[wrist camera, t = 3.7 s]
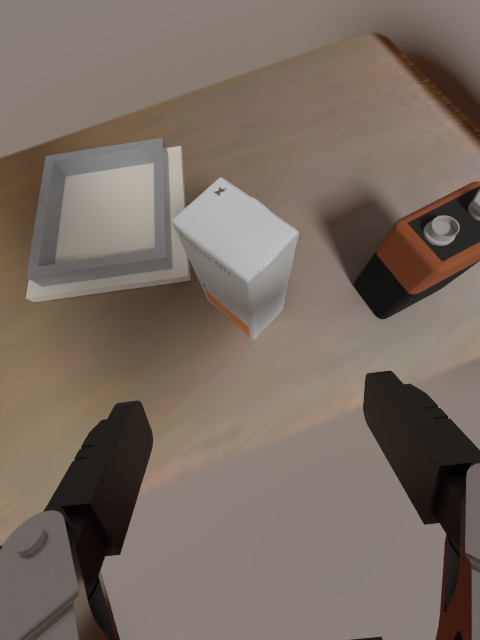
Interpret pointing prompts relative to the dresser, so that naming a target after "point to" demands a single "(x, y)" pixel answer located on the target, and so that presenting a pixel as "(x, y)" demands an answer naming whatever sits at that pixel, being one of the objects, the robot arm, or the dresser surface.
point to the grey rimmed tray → (108, 221)
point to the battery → (423, 252)
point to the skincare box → (238, 254)
